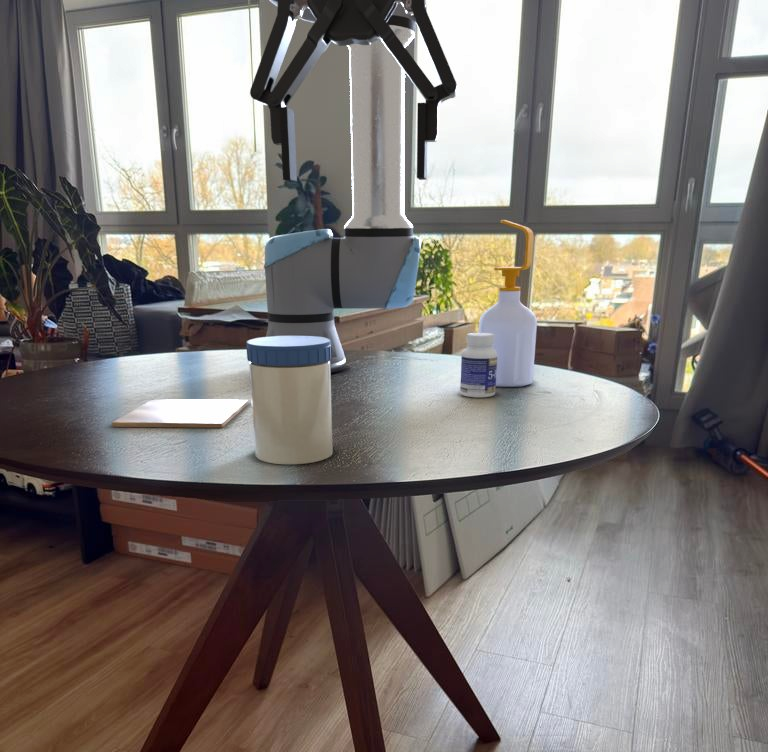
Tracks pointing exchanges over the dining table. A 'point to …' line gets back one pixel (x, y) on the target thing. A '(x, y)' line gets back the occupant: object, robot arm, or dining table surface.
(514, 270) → the soap bottle
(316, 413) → the jar
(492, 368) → the pill bottle
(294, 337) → the lid
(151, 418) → the mat
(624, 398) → the dining table surface
